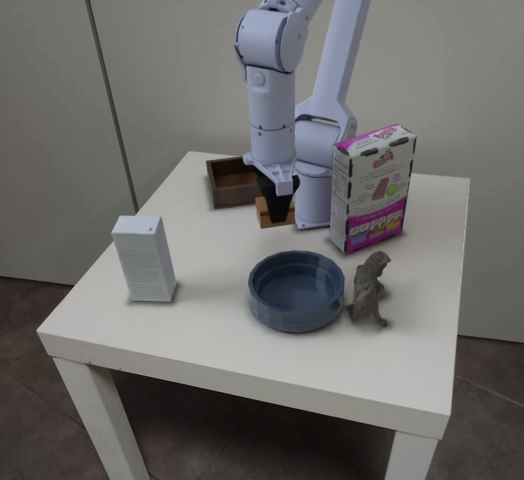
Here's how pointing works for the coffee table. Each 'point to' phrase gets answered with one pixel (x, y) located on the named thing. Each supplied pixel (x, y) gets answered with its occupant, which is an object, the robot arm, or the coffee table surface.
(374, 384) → the coffee table surface
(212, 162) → the box
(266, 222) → the light brown rectangular block
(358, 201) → the candy bar box
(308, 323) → the bowl
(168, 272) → the cosmetic box
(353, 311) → the dog figurine
